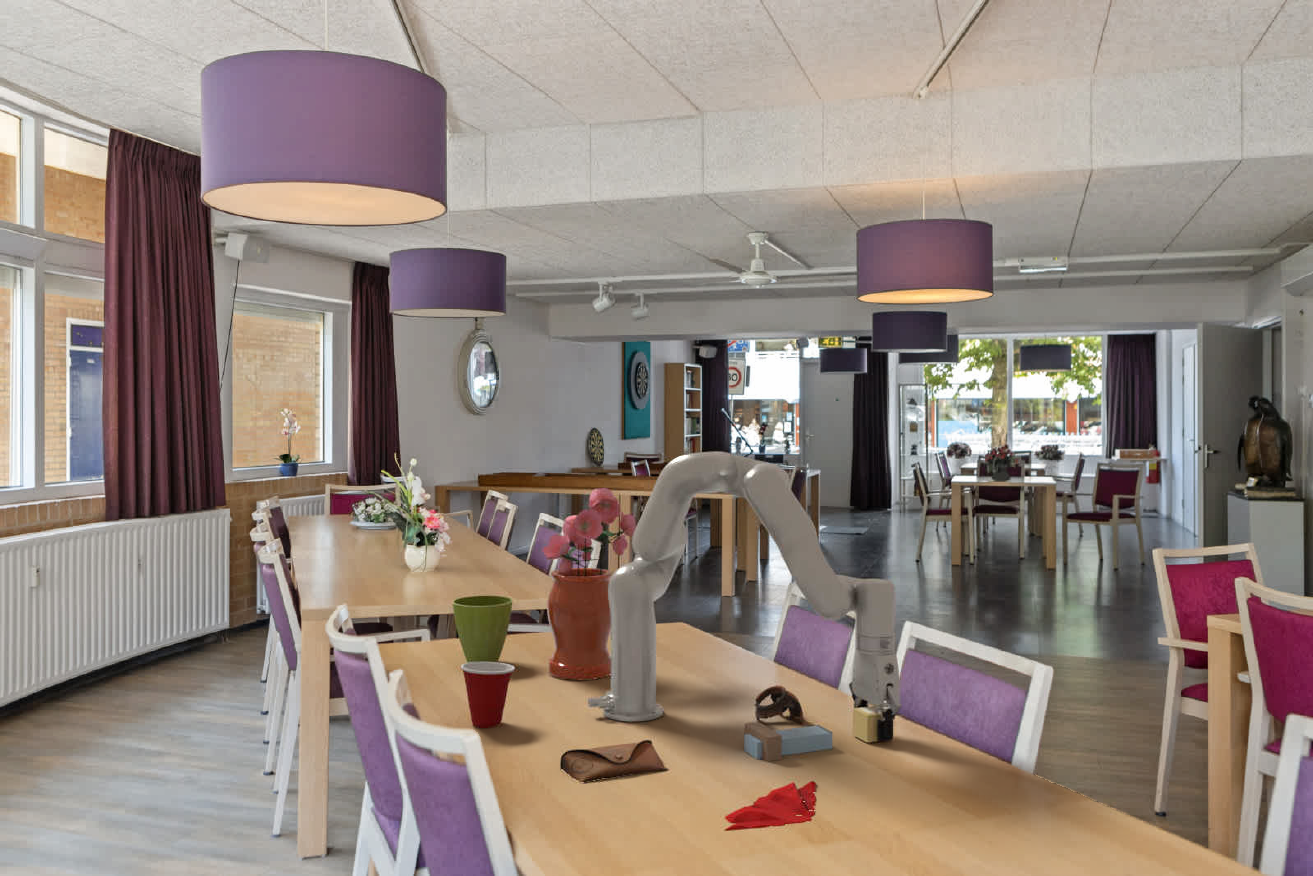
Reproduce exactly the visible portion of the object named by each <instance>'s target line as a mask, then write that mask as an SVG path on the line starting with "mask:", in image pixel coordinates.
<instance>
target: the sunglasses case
mask: <svg viewBox="0 0 1313 876" xmlns="http://www.w3.org/2000/svg"><path fill="white" fill-rule="evenodd" d="M559 766H560V770H561V769H563V770H564V771H565V772H566V773H567V774H569V775H570V776H571V777H572V778H574V779H576V780H578V781H579V782H580V783H581V782H587V781H591V782H594V781H593V780H596V781H598V780H597V779H602V778H608V779H613V778H612V777H615V778H618V777H617V776H621V777H624V776H623V775H627V776H631V775H630V774H634V775H639V774H640V775H641V774H646V773H654V772H664V771H669V768H668V767H665V765H664V763H663V762H662V760H661V757H660V756H659V755H658V753H657V751H656V749H655V747H654V745H653V741H652V740H649V739H644V740H642V741H637V742H631V743H621V744H614V745H608V746H607V745H605V746H598V747H593V748H592V747H591V748H577V749H576V748H575V749H569V750H566V751H564V753H563V754H562V755H561V756H560V765H559ZM602 780H603V779H602ZM587 783H588V782H587Z"/></svg>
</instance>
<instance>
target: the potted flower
mask: <svg viewBox="0 0 1313 876" xmlns="http://www.w3.org/2000/svg"><path fill="white" fill-rule="evenodd" d="M588 500H589V501H588V507H589V509H584V510H581V511H579V512H578V514H574V515H573V514H572V515H570V516H569V515H568V516H567V517H566V518H565V519H564V523H563V525H562V533H563V535H562V534H553V535H551V536H550V538H549V540H548V541H549V543H548V545H546V546H544V547H543V549H542V551H543V552H542V553H543V555H544V556H546V560H558V559H561V561H560V563H559V566H558V569H555V570H552V571H551V572H550V576H551V578H552V579H553V583H552V586H551V588H550V591H549V592H548V593H549V594H548V598H547V604H546V605H547V606H546V607H547V619H548V622H549V623H548V624H549V626H550V627H549V628H550V629H551V632H552V633H551V634H552V636H553V641H554V650H553V653H552V656H551V657H549V659H548V674H549V675H550V674H551V675H552V676H551V675H550V676H551V677H553V676H554V677H553V678H557V679H560V678H565V679H564V680H566V679H576V680H575V681H579V680H578V679H593V680H595V679H594V678H600V679H603V678H602V677H604V678H606V677H605V676H607V675H609V674H611V654H610V652H609V650H608V641H609V636H610V635H611V617H610V607H609V600H608V586H609V582H610V579H611V577H612V575H613V572H612V571H611V570H609V569H603V568H602V567H603V564H602V563H603V562H602V561H603V560H602V559H603V558H602V556H603V553H602V549H603V547H604V546H605V545H606V544H611V545H612V550H613V551H614V553H615V554H616V555H618V556H623V555H624V553H625V552H624V551H625V550H626V549H628V547H629V543H628V541H627V539H626V536H628V537H630V538H633V534H634V531H635V529H636V527H637V524H636V519H635V517H634V515H632V514H629V513H628V514H624V511H621V507H620V504H619V500H618V499H617V497H616V496H614V494H613V491H612V490H610V489H609V488H606V487H601V488H594V489H593V490H592V491H591V493H590V494H589V499H588ZM618 517H620V522H619V528H620V529H619V531H617V532H615V533H613V532H612V531H608V530H603V529H604V527H603V525H602V524H603V523H604V524H605V525H609V524H610V525H611V524H612V523H614V522H615V520H616V519H617V518H618ZM608 537H609V538H608ZM612 537H613V538H612ZM605 538H608V540H607V541H606V542H605V543H602V540H603V539H605ZM597 539H598V540H599V539H600V553H599V554H600V556H599V557H600V558H596V559H595V558H593V559H592V554H593V553H592V551H593V550H594V548H593V547H591V546H592V545H593V541H592V540H597ZM612 540H613V541H612ZM570 542H571V543H574V546H575V547H572V548H571V549H570V547H571V546H570ZM577 549H578V550H577ZM574 551H578V554H576V553H574ZM580 551H581V552H580ZM582 552H583V553H582ZM573 555H575V556H577V558H576V557H573ZM580 558H582V560H580ZM599 559H600V562H599V564H600V566H599V567H600V568H594V567H587V563H588V562H590V561H597V560H599ZM581 562H584V565H583V564H581ZM574 565H577V567H573V566H574ZM580 566H581V567H580ZM607 677H608V676H607Z"/></svg>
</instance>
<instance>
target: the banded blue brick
mask: <svg viewBox="0 0 1313 876" xmlns="http://www.w3.org/2000/svg"><path fill="white" fill-rule="evenodd" d="M743 729H744V733H743V734H744V735H743V739H744V741H743V742H744V744H743V745H744V746H743V748H744V750H743V751H745V753H747V754H748V755H750V756H751V757H753V758H755V759H757V760H758V759H759V760H761V759H763V760H764V761H765V762H775V761H782V758H783V757H782V756H788V755H789V756H790V755H795V754H804V753H811V752H819V751H825V750H826V751H827V750H832V749H833V731H830V730H829V729H827V728H825V727H823V726H821V725H819V724H817V725H813V726H803V727H796V728H795V727H794V728H788V729H787V728H786V729H778V730H773V729H772V728H769V727H768V726H766V725H764V724H763V723H761V722H760V721H755V722H748V723H744V728H743Z"/></svg>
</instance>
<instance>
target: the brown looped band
mask: <svg viewBox="0 0 1313 876" xmlns="http://www.w3.org/2000/svg"><path fill="white" fill-rule="evenodd" d="M768 697H770V700H771V701H772V703H770V704H767V705H761V703H762V702H763V701H764V700H766V699H767V698H768ZM754 707H755V711H754V712H755V714H754V715H755V719H756V722H760V719H764V720H767V719H768V718H770V719H771V718H773V717H777V716H780V717H784V713H785V712H786V711H787V710H788V712H789V717H790V718H800V724H801V725H804V724H805V717H804V712H803V708H802V706H801V703H800V701H799V699H798V697H797V696H796V695H795V694H794V693H792V692H791V691H789V690H787V689H786V687H785V686H783V685H774V686H773V685H772V686H770V687H768V688H765V689H764V690H763V691H761V692H760V693H759V694H758V695H757V696H756V698H755V704H754Z"/></svg>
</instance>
